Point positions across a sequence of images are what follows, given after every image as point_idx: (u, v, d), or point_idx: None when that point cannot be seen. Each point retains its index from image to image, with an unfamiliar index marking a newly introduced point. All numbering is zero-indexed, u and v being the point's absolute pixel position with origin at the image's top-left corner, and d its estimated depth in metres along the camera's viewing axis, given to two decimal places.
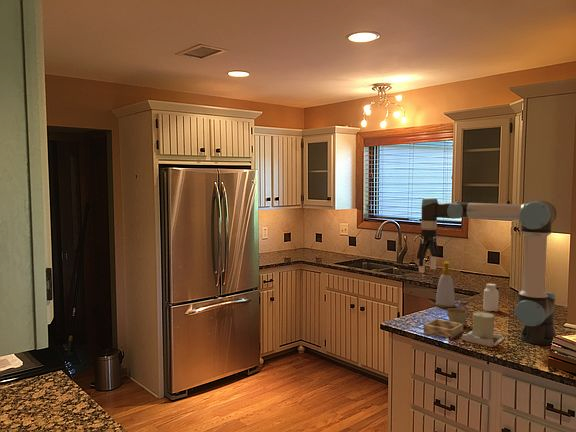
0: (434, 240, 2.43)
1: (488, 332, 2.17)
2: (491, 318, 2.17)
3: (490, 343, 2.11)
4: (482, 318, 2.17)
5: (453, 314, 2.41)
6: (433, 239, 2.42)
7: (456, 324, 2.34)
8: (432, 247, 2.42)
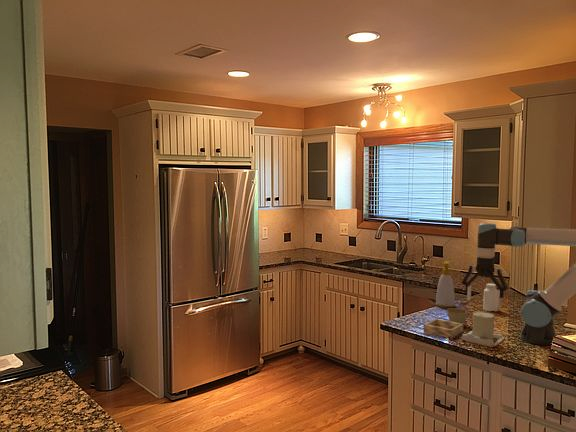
0: (496, 271, 2.15)
1: (488, 332, 2.17)
2: (491, 318, 2.17)
3: (490, 343, 2.11)
4: (482, 318, 2.17)
5: (453, 314, 2.41)
6: (492, 270, 2.16)
7: (456, 324, 2.34)
8: None
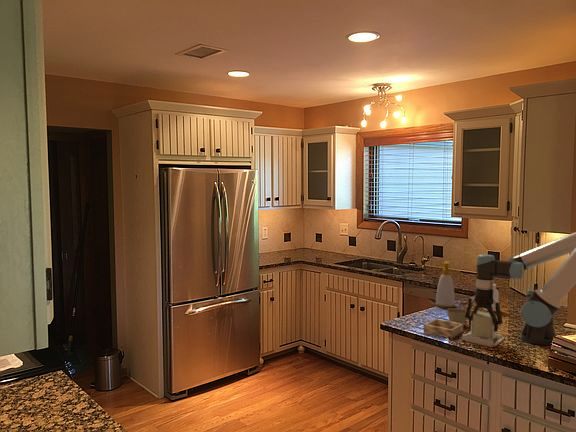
0: (495, 304, 2.16)
1: (488, 332, 2.17)
2: (491, 318, 2.17)
3: (490, 343, 2.11)
4: (482, 318, 2.17)
5: (453, 314, 2.41)
6: (491, 301, 2.17)
7: (456, 324, 2.34)
8: None
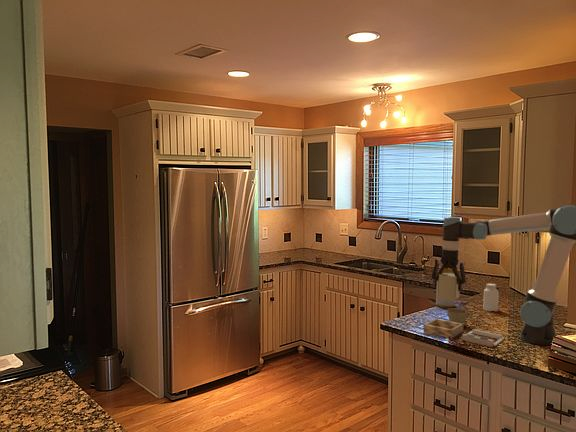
0: (459, 264, 2.25)
1: (452, 291, 2.25)
2: (455, 277, 2.25)
3: (490, 343, 2.11)
4: (447, 277, 2.25)
5: (453, 314, 2.41)
6: (456, 262, 2.25)
7: (456, 324, 2.34)
8: None
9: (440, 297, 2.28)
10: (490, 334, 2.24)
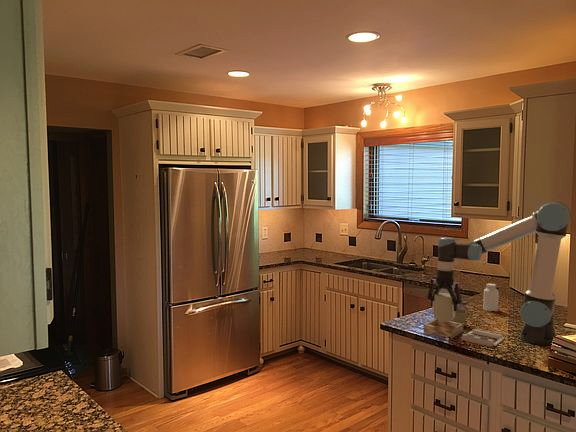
0: (455, 285, 2.26)
1: (448, 311, 2.27)
2: (451, 298, 2.27)
3: (490, 343, 2.11)
4: (442, 298, 2.27)
5: None
6: (451, 282, 2.27)
7: (456, 324, 2.34)
8: None
9: (436, 317, 2.29)
10: (490, 334, 2.24)
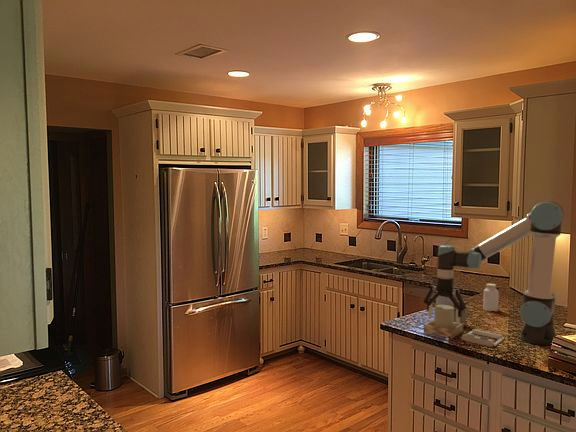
0: (455, 292, 2.26)
1: (448, 323, 2.27)
2: (451, 310, 2.27)
3: (490, 343, 2.11)
4: (442, 310, 2.27)
5: None
6: (451, 290, 2.27)
7: (456, 324, 2.34)
8: None
9: None
10: (490, 334, 2.24)
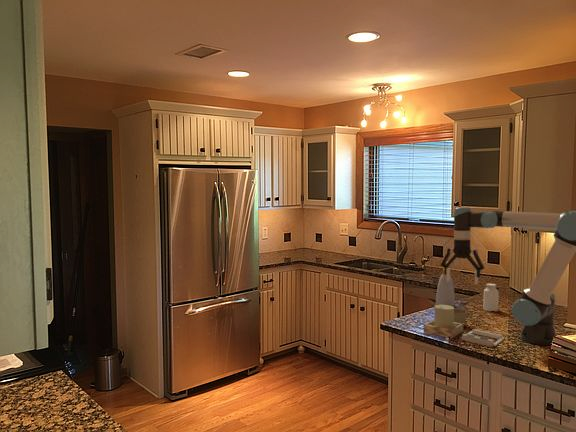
0: (473, 252, 2.28)
1: (448, 323, 2.27)
2: (451, 310, 2.27)
3: (490, 343, 2.11)
4: (442, 310, 2.27)
5: None
6: (469, 251, 2.28)
7: (456, 324, 2.34)
8: None
9: None
10: (490, 334, 2.24)
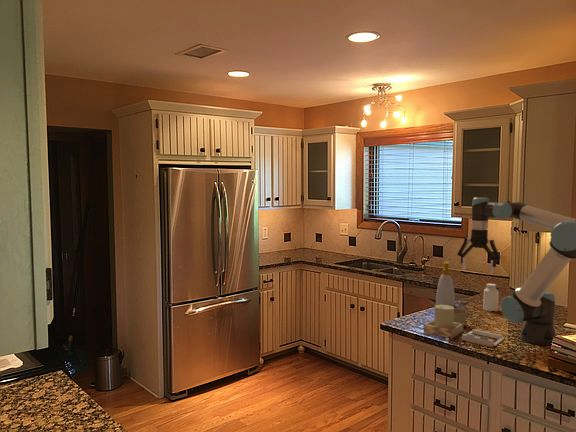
0: (490, 242, 2.30)
1: (448, 323, 2.27)
2: (451, 310, 2.27)
3: (490, 343, 2.11)
4: (442, 310, 2.27)
5: None
6: (485, 241, 2.31)
7: (456, 324, 2.34)
8: None
9: None
10: (490, 334, 2.24)
